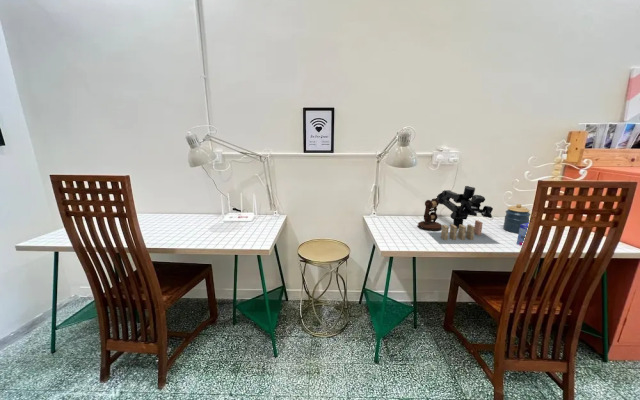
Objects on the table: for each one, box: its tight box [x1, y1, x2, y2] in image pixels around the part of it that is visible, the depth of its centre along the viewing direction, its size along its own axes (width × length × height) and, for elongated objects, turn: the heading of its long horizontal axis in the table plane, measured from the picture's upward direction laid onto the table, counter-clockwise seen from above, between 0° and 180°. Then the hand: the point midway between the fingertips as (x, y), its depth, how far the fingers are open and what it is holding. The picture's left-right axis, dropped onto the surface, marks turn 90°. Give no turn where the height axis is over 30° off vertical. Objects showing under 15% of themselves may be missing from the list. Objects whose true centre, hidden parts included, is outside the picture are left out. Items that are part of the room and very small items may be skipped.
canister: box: [502, 203, 532, 234], centre depth 170 cm, size 13×13×18 cm
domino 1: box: [441, 224, 450, 240], centre depth 157 cm, size 2×5×8 cm, turn 179°
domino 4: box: [466, 224, 475, 240], centre depth 157 cm, size 2×5×8 cm, turn 179°
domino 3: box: [457, 224, 467, 240], centre depth 157 cm, size 2×5×8 cm, turn 179°
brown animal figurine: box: [417, 197, 443, 232], centre depth 176 cm, size 15×15×20 cm
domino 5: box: [474, 219, 483, 235], centre depth 165 cm, size 2×5×8 cm, turn 179°
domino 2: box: [449, 224, 458, 240], centre depth 157 cm, size 2×5×8 cm, turn 179°
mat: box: [426, 231, 501, 245], centre depth 160 cm, size 19×34×1 cm, turn 89°
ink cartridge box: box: [516, 223, 529, 246], centre depth 147 cm, size 10×6×14 cm, turn 114°
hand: (484, 216), depth 151 cm, fingers open, 9 cm apart
